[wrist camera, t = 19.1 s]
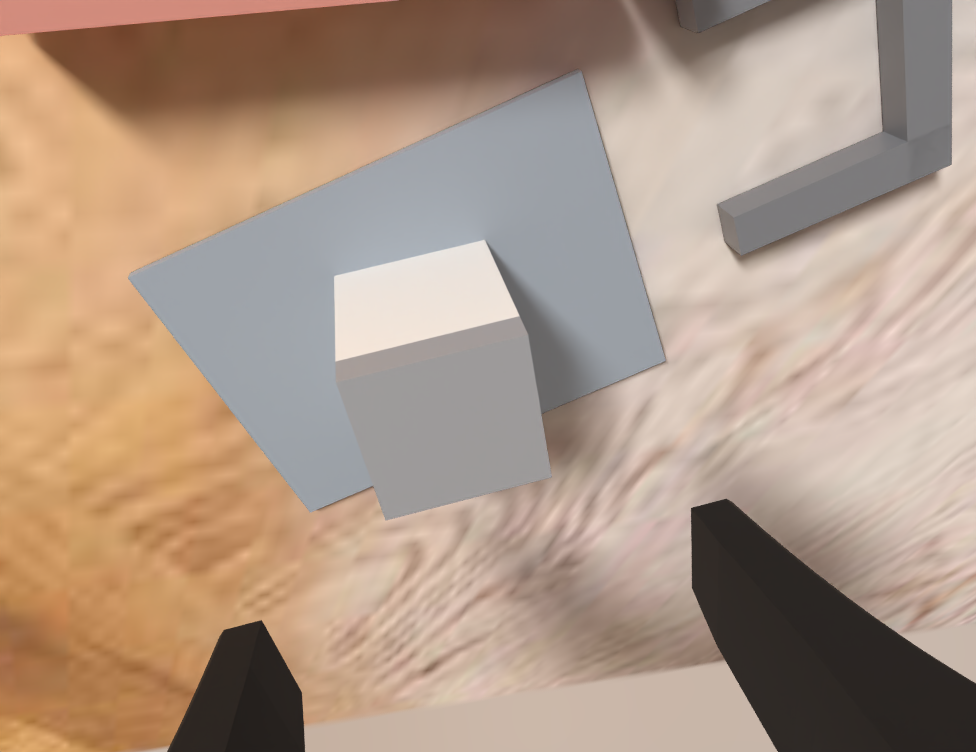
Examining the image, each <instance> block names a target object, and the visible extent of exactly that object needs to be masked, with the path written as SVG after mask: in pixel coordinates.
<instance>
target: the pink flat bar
mask: <svg viewBox="0 0 976 752" xmlns="http://www.w3.org/2000/svg"><path fill="white" fill-rule="evenodd" d="M385 1H397V0H0V36H3V35H15V34H26V33H37V32H48V31H60V30H71V29H82V28H93V27H105V26H116V25H127V24H138V23H149V22H161V21H172V20H183V19H194V18H206V17H217V16H228V15H239V14H251V13H262V12H273V11H284V10H295V9H307V8H318V7H329V6H340V5H352V4H363V3H374V2H385Z"/></svg>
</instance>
